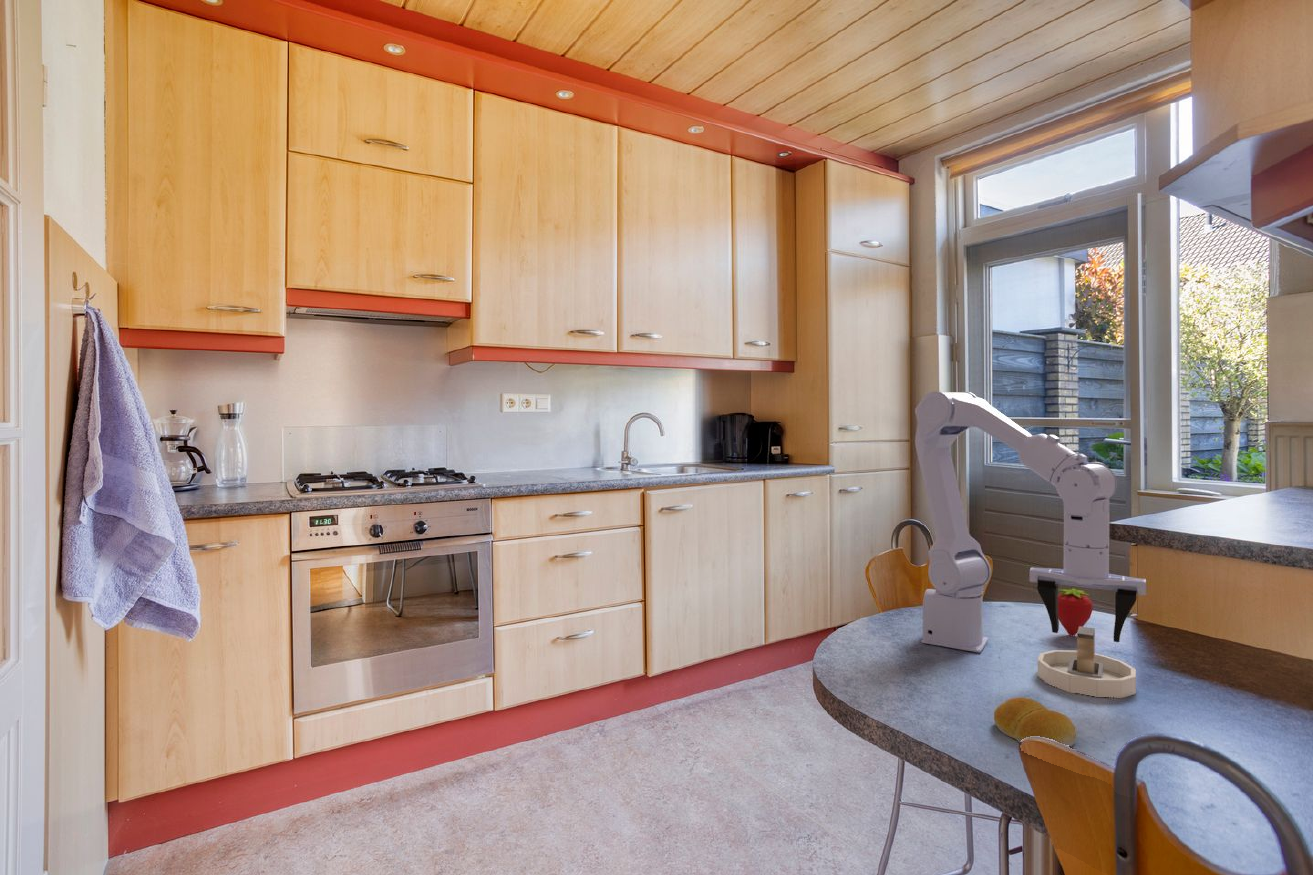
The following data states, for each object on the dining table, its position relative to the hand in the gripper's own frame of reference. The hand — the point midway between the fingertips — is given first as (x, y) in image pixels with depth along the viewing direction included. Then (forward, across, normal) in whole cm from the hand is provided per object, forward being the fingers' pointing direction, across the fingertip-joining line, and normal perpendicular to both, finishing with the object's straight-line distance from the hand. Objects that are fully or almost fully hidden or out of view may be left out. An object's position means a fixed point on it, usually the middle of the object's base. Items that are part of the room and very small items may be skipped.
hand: (1085, 635), depth 100 cm
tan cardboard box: (+6, 0, 0) cm, 6 cm away
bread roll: (+7, -4, -23) cm, 25 cm away
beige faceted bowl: (+7, 0, 0) cm, 7 cm away
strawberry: (+7, -3, +23) cm, 24 cm away
